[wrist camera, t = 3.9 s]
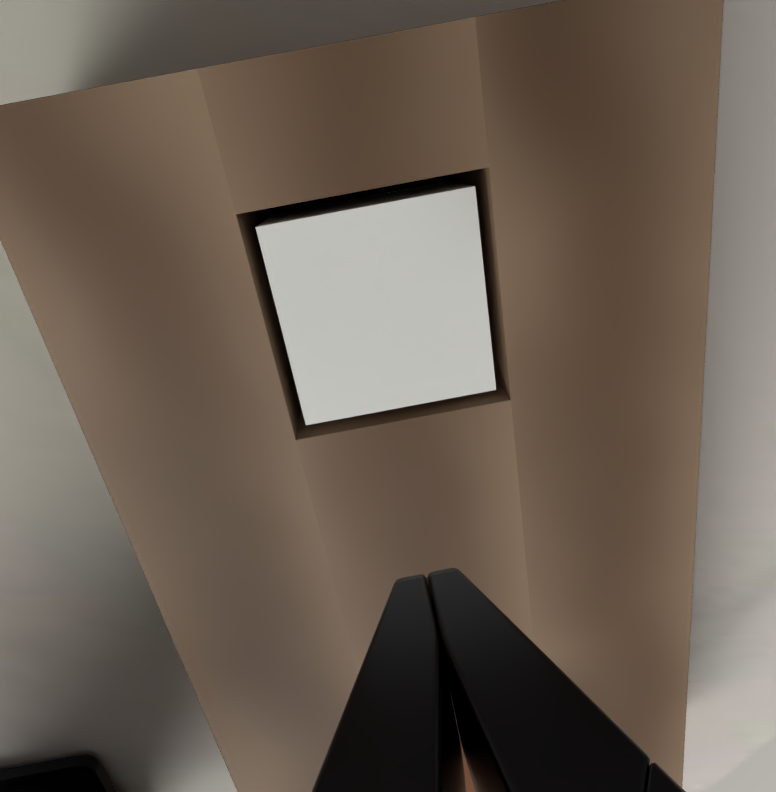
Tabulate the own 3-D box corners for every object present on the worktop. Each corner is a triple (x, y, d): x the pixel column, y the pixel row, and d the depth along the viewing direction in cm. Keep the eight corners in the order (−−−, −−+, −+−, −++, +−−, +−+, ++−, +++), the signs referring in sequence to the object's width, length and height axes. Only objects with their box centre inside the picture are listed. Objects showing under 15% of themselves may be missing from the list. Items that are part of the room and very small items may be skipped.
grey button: (313, 372, 16) (306, 425, 13) (275, 213, 14) (255, 226, 11) (465, 344, 16) (496, 390, 13) (445, 181, 14) (474, 186, 11)
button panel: (300, 801, 24) (292, 918, 20) (54, 128, 14) (-54, 115, 10) (626, 740, 24) (678, 846, 20) (621, 23, 14) (725, -31, 10)
